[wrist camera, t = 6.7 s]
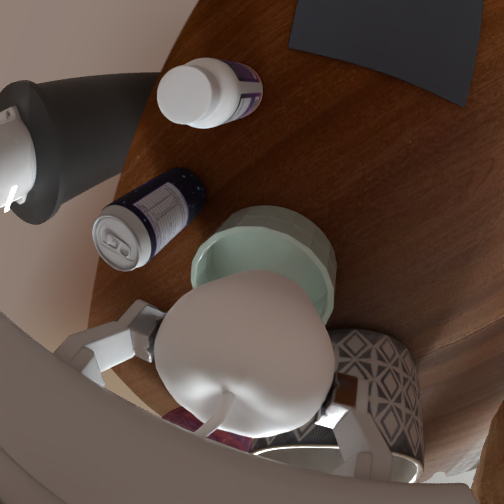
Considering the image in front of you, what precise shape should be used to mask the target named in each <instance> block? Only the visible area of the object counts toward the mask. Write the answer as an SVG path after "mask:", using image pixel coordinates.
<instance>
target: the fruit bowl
mask: <svg viewBox="0 0 504 504" xmlns="http://www.w3.org/2000/svg"><path fill="white" fill-rule="evenodd" d="M249 270H268V271H272V272H275V273H278V274H280V275H282V276H285V277H287V278H289V279H291V280H293V281H294V282H295V283H297V284H298V285H300V286H301V287H302V288H303V289H304V291H305V292H306V293H307V294H308V296H309V297H310V299H311V301H312V303H313V304H314V306H315V308H316V310H317V312H318V314H319V316H320V317H321V319H322V322H323V324H324V326H325V325H326V323H327V321H328V319H329V317H330V315H331V313H332V311H333V308H334V300H335V292H336V282H337V262H336V256H335V253H334V250H333V248H332V246H331V243H330V242H329V240H328V239H327V237H326V236H325V234H324V233H323V232H322V231H321V230H320V228H319V227H317V226H316V225H315V224H314V223H313V222H312V221H310V220H309V219H307V218H306V217H305V216H303V215H301V214H299V213H297V212H295V211H292V210H289V209H287V208H283V207H278V206H270V205H258V206H252V207H248V208H244V209H241V210H239V211H237V212H235V213H233V214H232V215H230V216H229V217H227V218H226V219H225V220H224V221H223V222H222V223H221V224H220V225H218V226H217V227H216V229H215V230H214V231H213V232H212V233H211V234H210V235H209V236H208V238H207V239H206V240H205V241H204V242H203V243H202V244H201V245H200V247H199V249H198V251H197V253H196V255H195V257H194V259H193V261H192V268H191V283H192V286H193V289H195V288H197V287H199V286H201V285H203V284H205V283H208V282H211V281H214V280H217V279H220V278H223V277H226V276H228V275H231V274H235V273H239V272H242V271H249Z"/></svg>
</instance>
